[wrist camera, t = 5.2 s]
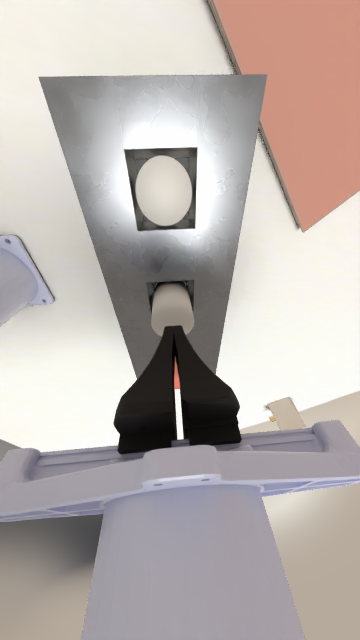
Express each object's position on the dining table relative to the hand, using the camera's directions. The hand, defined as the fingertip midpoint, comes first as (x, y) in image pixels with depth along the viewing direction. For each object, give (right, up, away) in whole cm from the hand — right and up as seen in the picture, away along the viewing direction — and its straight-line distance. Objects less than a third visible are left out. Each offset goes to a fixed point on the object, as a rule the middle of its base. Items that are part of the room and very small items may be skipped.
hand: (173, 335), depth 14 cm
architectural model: (+27, -20, +32) cm, 46 cm away
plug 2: (0, +4, +5) cm, 7 cm away
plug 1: (-1, +13, +2) cm, 13 cm away
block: (-1, +6, +8) cm, 10 cm away
